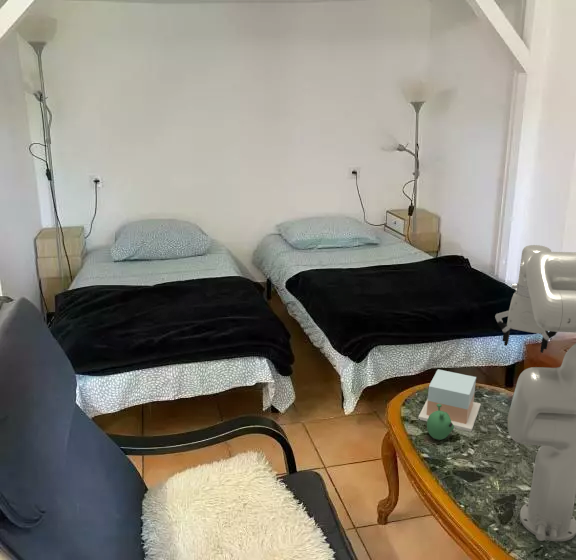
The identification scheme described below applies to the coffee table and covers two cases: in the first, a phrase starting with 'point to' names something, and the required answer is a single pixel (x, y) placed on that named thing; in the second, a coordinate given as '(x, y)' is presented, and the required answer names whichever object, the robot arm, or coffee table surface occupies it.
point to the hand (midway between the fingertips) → (524, 347)
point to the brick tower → (452, 399)
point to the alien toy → (439, 424)
